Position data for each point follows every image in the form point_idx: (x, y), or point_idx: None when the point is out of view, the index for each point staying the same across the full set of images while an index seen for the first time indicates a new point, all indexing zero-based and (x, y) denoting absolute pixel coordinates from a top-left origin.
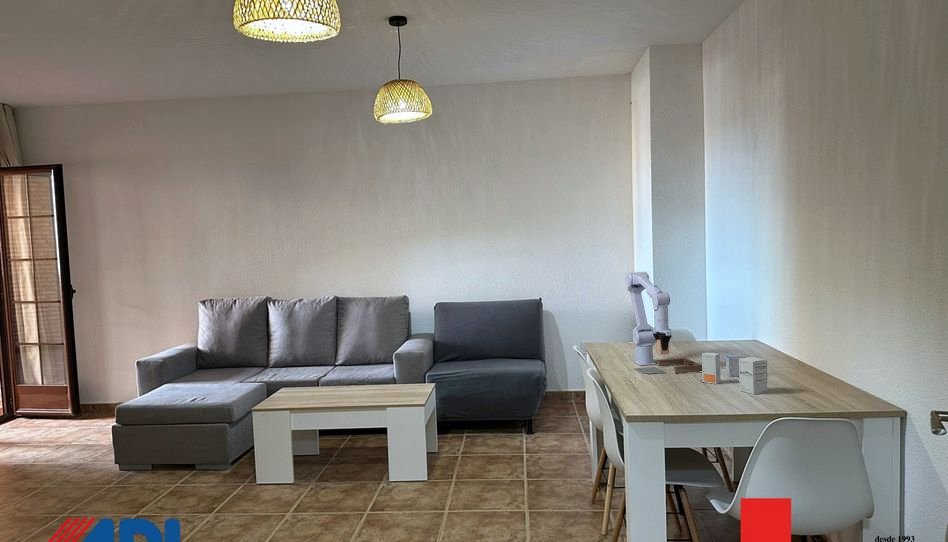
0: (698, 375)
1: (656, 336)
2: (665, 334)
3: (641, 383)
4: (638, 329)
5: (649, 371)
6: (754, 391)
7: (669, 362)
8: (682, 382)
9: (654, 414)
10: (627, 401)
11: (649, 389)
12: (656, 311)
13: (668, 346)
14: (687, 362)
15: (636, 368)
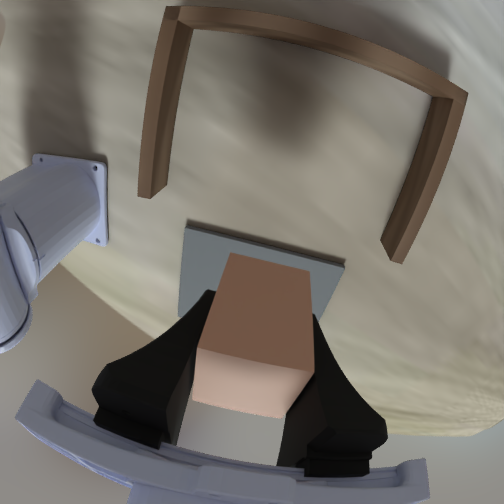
0: (481, 184)
1: (180, 427)
2: (352, 477)
3: (394, 394)
4: None
5: None
6: None
7: (165, 123)
8: (486, 315)
9: (500, 420)
10: (449, 433)
11: (445, 399)
12: None
13: (310, 321)
14: (245, 29)
15: (183, 310)
